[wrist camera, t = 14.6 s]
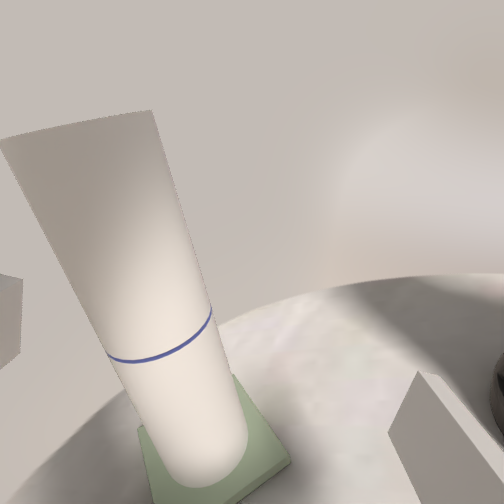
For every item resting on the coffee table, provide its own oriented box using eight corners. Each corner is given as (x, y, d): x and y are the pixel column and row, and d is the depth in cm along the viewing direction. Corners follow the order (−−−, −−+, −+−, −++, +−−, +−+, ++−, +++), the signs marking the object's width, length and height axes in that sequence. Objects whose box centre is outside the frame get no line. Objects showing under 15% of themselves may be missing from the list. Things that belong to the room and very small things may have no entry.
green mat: (235, 380, 33) (233, 373, 32) (291, 462, 24) (289, 454, 24) (140, 435, 29) (137, 428, 28) (167, 554, 21) (163, 547, 20)
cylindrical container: (155, 495, 23) (-46, 148, 12) (173, 409, 30) (51, 134, 19) (249, 480, 23) (125, 111, 12) (247, 397, 29) (165, 109, 19)
